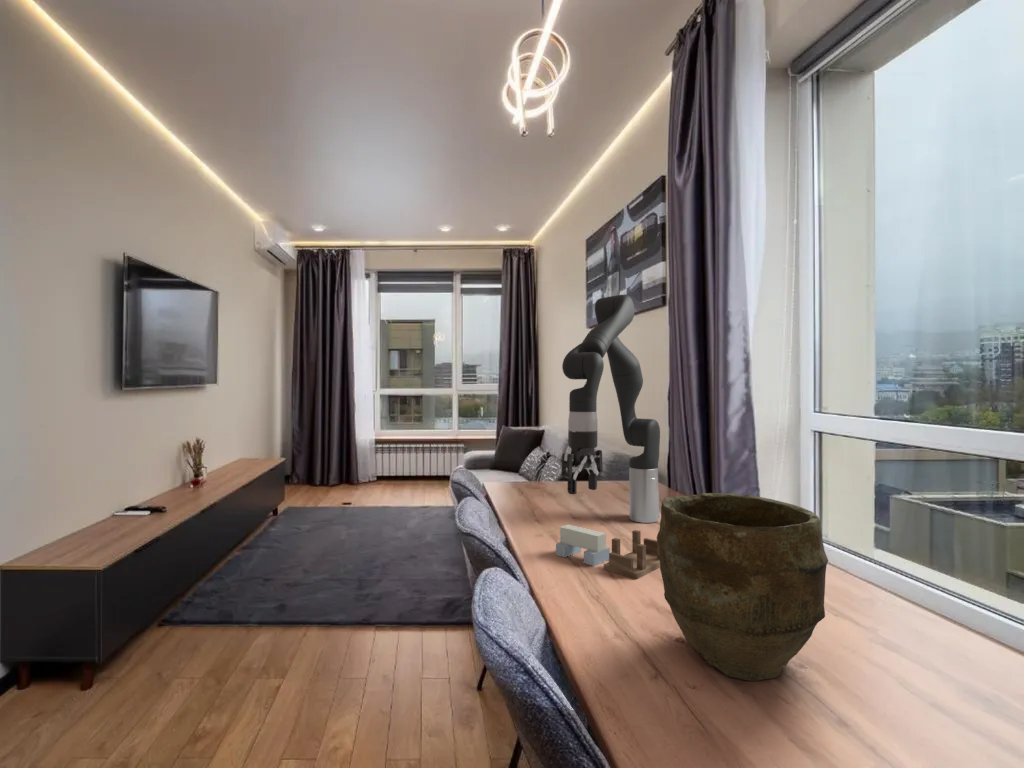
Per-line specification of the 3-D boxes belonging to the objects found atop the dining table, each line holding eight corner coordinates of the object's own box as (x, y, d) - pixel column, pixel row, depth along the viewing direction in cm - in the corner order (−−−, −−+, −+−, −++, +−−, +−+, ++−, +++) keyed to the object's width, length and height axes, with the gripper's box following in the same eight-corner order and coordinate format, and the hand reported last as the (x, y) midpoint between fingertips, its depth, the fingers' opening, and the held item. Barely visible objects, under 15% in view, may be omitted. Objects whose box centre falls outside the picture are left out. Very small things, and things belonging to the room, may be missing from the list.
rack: (640, 552, 136) (640, 527, 136) (672, 560, 129) (672, 534, 129) (603, 569, 123) (603, 541, 123) (636, 579, 117) (636, 549, 117)
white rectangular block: (568, 539, 138) (568, 524, 138) (605, 549, 129) (605, 533, 129) (560, 542, 135) (560, 527, 135) (597, 552, 127) (597, 536, 127)
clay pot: (802, 630, 92) (802, 492, 92) (856, 719, 68) (854, 531, 68) (656, 614, 99) (656, 485, 99) (657, 689, 75) (656, 518, 75)
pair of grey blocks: (572, 548, 139) (572, 537, 139) (609, 559, 131) (609, 547, 131) (556, 555, 134) (555, 543, 134) (593, 566, 126) (593, 554, 126)
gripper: (587, 427, 140) (587, 486, 140) (553, 429, 130) (553, 493, 130) (610, 428, 135) (610, 490, 135) (577, 431, 125) (576, 497, 125)
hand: (582, 491), depth 132 cm, fingers open, 8 cm apart
